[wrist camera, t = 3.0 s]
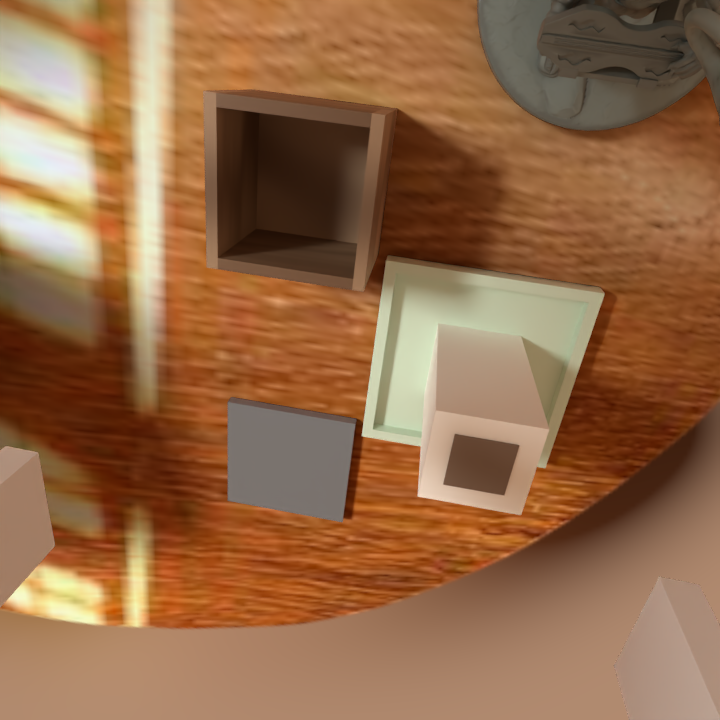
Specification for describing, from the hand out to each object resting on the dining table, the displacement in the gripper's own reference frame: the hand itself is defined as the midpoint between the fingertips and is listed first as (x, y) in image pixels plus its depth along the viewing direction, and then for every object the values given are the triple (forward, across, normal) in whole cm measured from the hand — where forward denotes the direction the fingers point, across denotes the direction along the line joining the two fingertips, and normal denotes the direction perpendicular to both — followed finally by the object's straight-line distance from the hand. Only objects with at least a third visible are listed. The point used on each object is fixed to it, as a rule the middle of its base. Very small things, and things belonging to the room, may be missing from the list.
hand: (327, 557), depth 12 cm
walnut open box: (+20, -5, +5) cm, 21 cm away
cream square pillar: (+20, +4, -4) cm, 21 cm away
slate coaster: (+20, -6, -13) cm, 25 cm away
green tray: (+20, +4, -4) cm, 21 cm away
